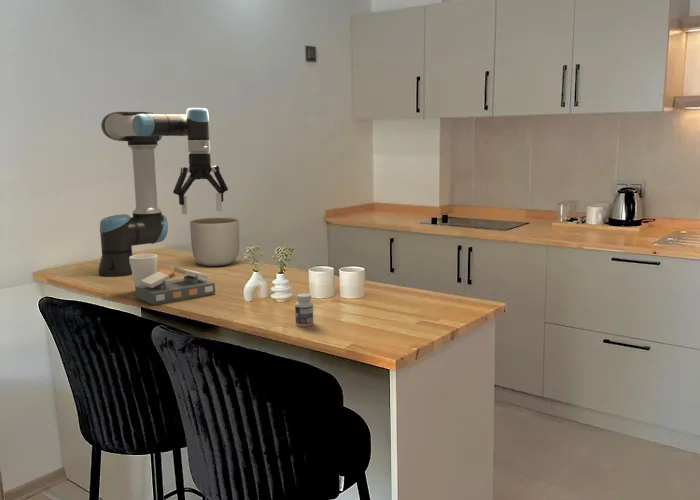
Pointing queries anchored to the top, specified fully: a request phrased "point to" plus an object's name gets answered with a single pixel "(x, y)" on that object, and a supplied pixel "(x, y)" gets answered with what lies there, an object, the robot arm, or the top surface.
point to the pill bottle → (304, 310)
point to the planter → (215, 240)
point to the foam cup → (142, 266)
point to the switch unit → (175, 290)
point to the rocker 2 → (191, 273)
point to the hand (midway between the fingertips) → (202, 212)
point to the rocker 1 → (158, 278)
